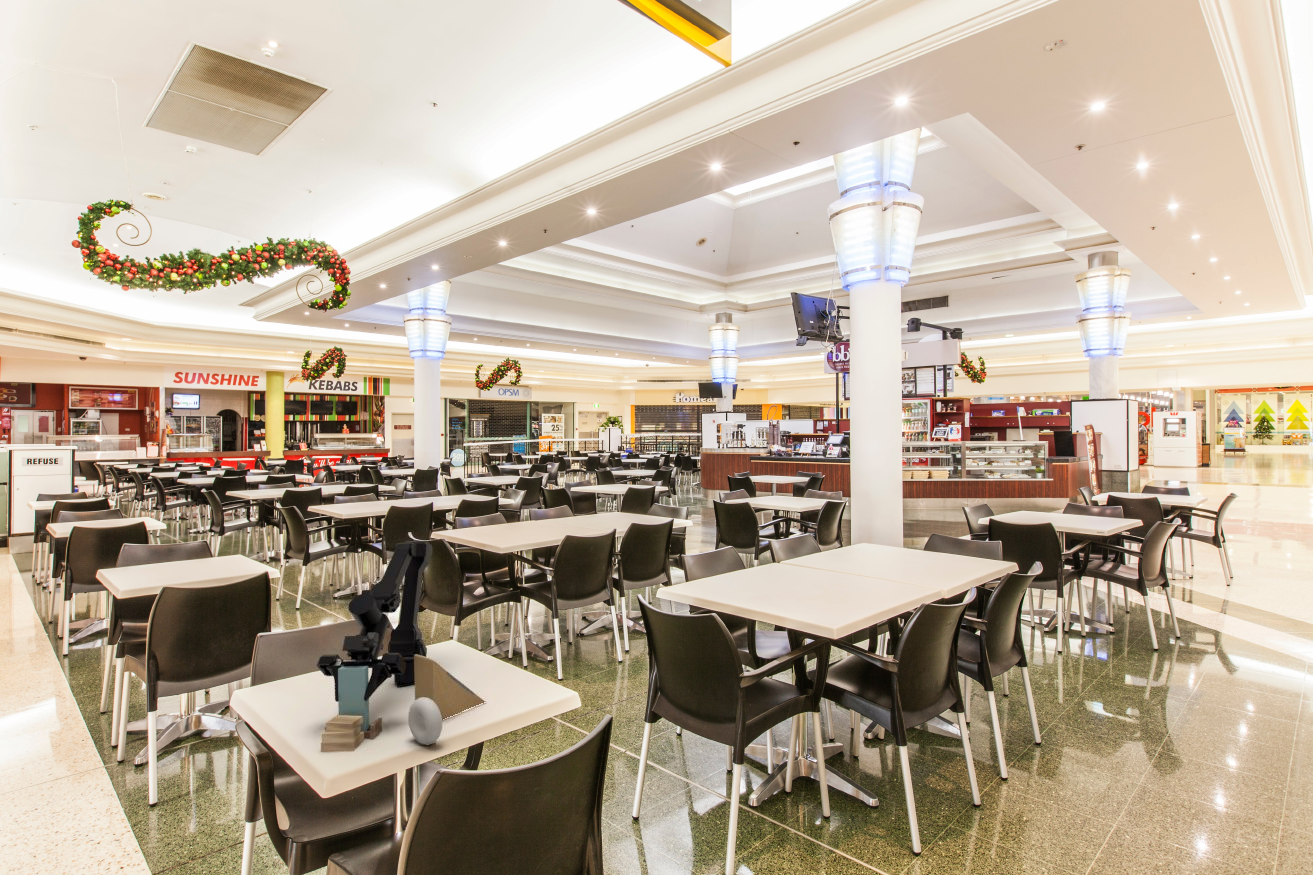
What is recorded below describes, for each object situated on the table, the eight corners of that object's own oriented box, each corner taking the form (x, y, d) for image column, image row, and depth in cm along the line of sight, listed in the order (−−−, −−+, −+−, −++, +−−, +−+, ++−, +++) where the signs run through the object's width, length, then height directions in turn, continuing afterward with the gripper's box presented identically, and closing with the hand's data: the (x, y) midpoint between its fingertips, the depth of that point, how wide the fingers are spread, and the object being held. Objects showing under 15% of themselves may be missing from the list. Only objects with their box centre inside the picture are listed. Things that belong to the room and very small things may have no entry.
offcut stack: (332, 741, 141) (332, 714, 141) (364, 740, 141) (364, 714, 141) (319, 752, 135) (319, 725, 136) (353, 751, 136) (352, 724, 136)
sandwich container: (488, 703, 161) (487, 643, 161) (434, 724, 149) (433, 660, 149) (468, 695, 166) (467, 638, 166) (414, 715, 154) (413, 653, 154)
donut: (405, 740, 140) (404, 695, 140) (419, 734, 143) (418, 690, 143) (432, 752, 134) (431, 705, 134) (446, 746, 137) (445, 700, 137)
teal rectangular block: (342, 728, 144) (341, 666, 144) (369, 727, 144) (368, 665, 144) (338, 731, 142) (338, 669, 142) (365, 730, 142) (364, 668, 143)
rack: (334, 731, 145) (334, 718, 145) (382, 730, 145) (382, 717, 146) (325, 740, 141) (325, 727, 141) (373, 739, 141) (373, 725, 141)
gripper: (320, 620, 147) (294, 685, 136) (400, 618, 148) (381, 683, 136) (337, 643, 155) (314, 707, 144) (413, 641, 155) (396, 705, 144)
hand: (350, 700), depth 142 cm, fingers closed on teal rectangular block, 6 cm apart
